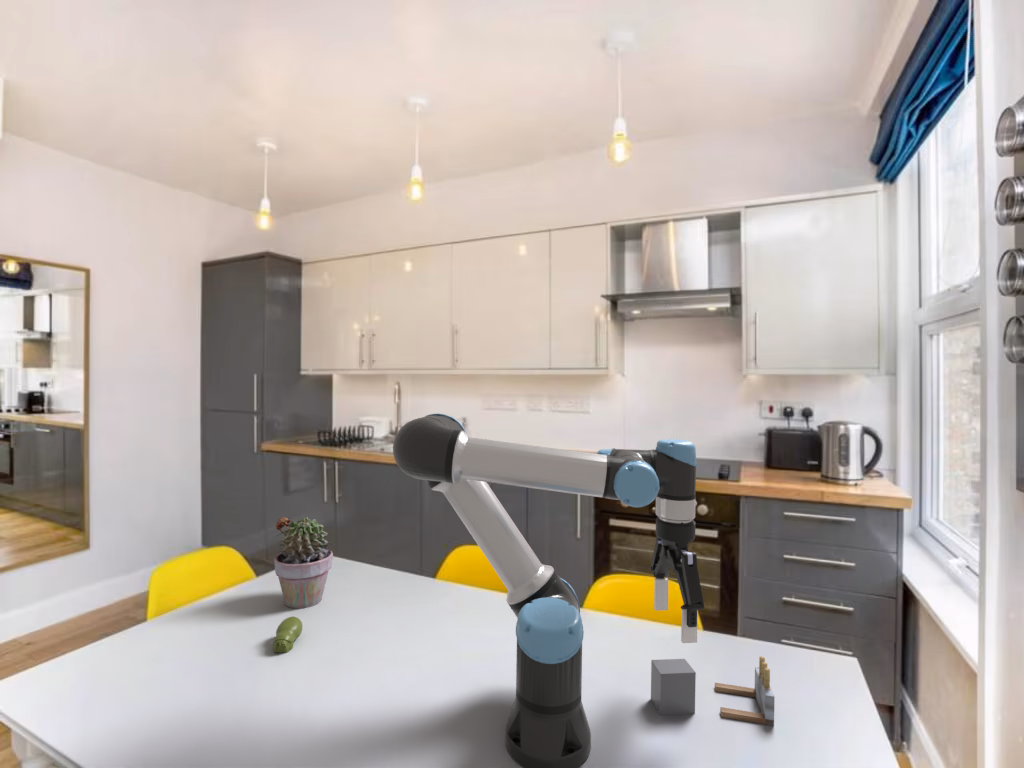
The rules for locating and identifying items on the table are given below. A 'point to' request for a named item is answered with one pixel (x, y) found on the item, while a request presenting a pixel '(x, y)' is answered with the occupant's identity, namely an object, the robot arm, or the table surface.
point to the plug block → (673, 686)
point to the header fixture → (760, 693)
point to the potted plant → (303, 562)
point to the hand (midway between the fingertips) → (674, 624)
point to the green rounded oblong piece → (287, 634)
